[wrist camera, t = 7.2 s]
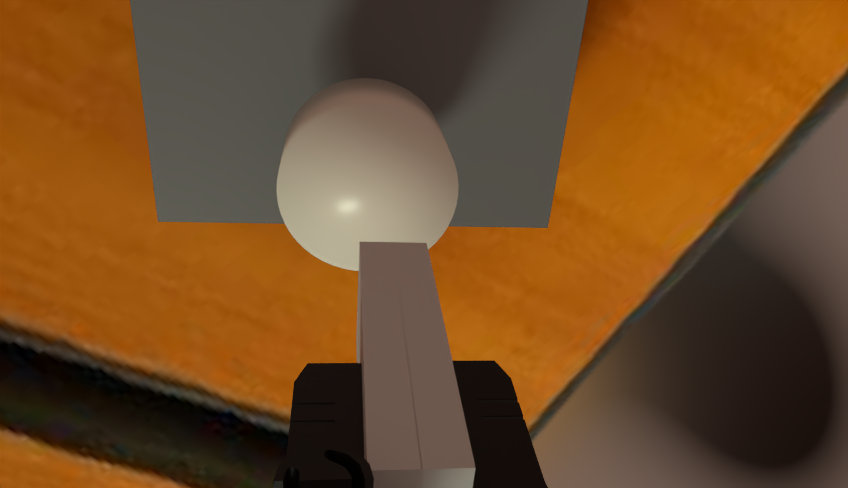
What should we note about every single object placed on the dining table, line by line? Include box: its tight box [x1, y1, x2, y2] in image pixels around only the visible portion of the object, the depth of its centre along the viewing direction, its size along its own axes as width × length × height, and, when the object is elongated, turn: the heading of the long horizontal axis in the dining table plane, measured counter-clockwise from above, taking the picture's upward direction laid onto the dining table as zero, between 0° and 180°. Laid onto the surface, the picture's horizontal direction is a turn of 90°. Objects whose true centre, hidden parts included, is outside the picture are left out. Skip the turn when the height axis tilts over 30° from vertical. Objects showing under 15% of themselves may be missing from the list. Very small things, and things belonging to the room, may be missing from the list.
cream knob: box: [277, 78, 459, 271], centre depth 24 cm, size 6×6×8 cm
